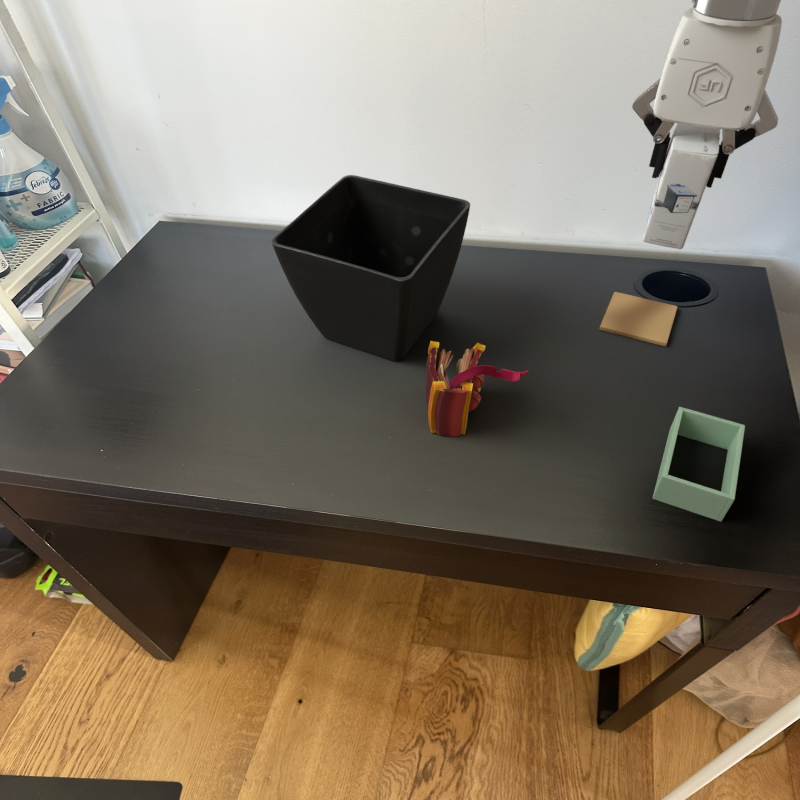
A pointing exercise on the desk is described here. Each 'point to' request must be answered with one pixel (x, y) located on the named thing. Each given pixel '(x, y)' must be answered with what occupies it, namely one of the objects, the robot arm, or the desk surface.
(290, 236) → the flower pot
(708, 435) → the sleeve
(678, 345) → the desk surface
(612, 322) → the coaster board
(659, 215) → the ink box
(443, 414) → the book monster
